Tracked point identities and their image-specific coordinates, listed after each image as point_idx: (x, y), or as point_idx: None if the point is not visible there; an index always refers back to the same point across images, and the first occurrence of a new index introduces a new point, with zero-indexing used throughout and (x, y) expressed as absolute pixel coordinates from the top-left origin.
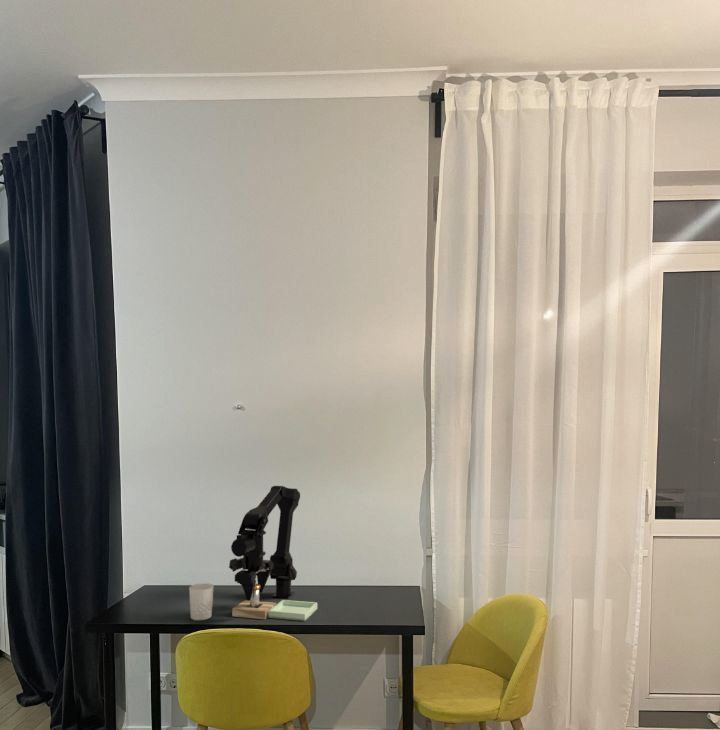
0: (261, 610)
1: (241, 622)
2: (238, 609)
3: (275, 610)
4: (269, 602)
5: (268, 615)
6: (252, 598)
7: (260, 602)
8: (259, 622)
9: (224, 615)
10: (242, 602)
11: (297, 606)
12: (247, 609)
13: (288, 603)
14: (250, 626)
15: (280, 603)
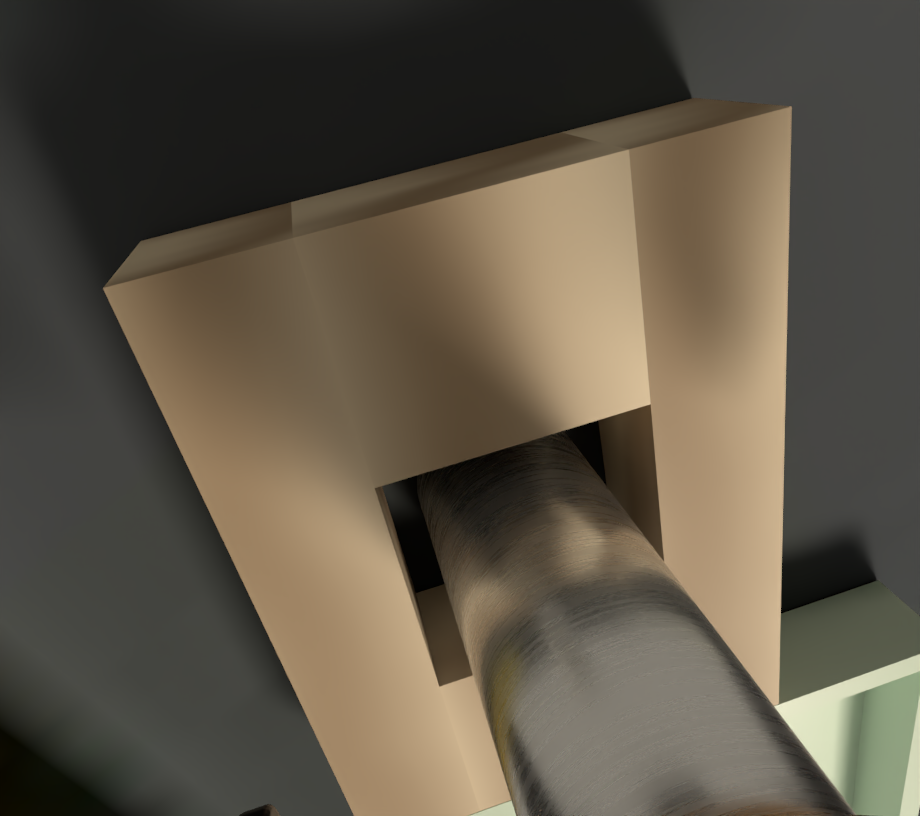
0: (381, 790)
1: (26, 604)
2: (178, 444)
3: None
4: (774, 625)
5: None
6: (493, 731)
7: (737, 515)
8: (218, 771)
9: (60, 6)
10: (632, 176)
11: (852, 756)
12: (284, 605)
13: (889, 692)
14: (7, 798)
15: (815, 698)
